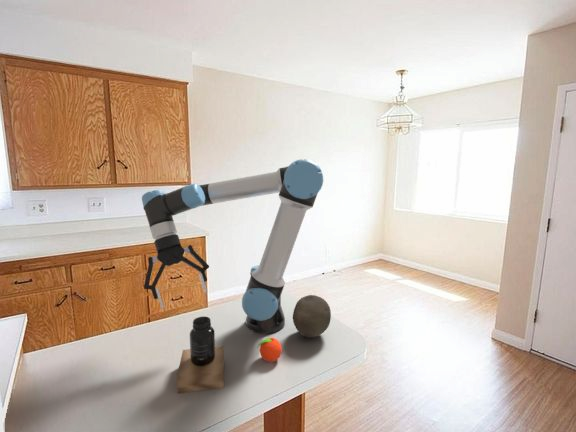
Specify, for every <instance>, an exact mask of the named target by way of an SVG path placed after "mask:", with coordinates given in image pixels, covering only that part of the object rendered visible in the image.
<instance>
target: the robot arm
mask: <svg viewBox="0 0 576 432" xmlns="http://www.w3.org/2000/svg"><path fill="white" fill-rule="evenodd" d="M323 184H324V175H323V171H322V169H321V167H320V166H319V165H318V164H317V163H316V162H315V161H313V160H311V159H306V158H302V159H296V160H294V161H293V162H291V163H290V164H289V165H288V166H284V167H279V168H278V169H277V171H273V172H267V173H262V174H260V173H259V174H257V175H251V176H245V177H240V178H239V177H238V178H233V179H228V180H222V181H217V182H211V183H206V184H205V183H204V184H198V183H192V184H187V185H185V186H183V187H180V188H177V189H176V190H172V191H170V192H167V193H166V192H165V191H164V190H163V189H155V190H150V191H147V192H145V193H144V194H142V196H141V201H142V206H143V207H142V208H143V211H144V213H145V216H146V219H147V222H148V225H149V230H150V233H151V236H152V239H153V240H154V241H153V243H154V246H155V250H156V253H157V254H156V256H148V257H147V261H148V267H147V271H146V276H145V280H144V286H143V289H144V290H151V292H152V296H153V299H154V300H158V301H159V305H160V308H161V309H160V310H163V309H165V307H164V303H163V300H162V297H161V294H160V290H159V287H156V286H157V284H158V282H159V280H160V278H161V276H162V274H163V272H164V269H165V268H166V266H167V267H171V266H173V265H177V264H179V263H180V262H182V263H184V264H186V265H188V266H189V267H191V268H192V269H195V270H196V271H198V272H199V273H198V277H199V278H198V279H199V281H200V284H201V287H202V290H203V293H205V294H207V293H208V289H207V286H206V282H208V277H207V275H206V270H208V269H209V267H210V265H209V264H208V263H207V262H206V261H205V260H204V259H203V258H202V257H201V256H200V255H199V254H198V253H197V252H196V251H195V250H194V247H193V245H191V244H189V245H188V246H186V247H182V244H181V240H180V237H179V235H178V234H177V233H178V230H177V227H176V225H175V221H174V218H173V216H176V215H179V214H183V213H184V212H188V211H190V210H192V209H196V208H199V207H202V206H208V205H213V204H218V203H220V204H221V203H225V202H230V201H231V202H232V201H237V200H243V199H250V198H254V197H255V198H256V197H261V196H268V195H272V194H278V198H279V200H280V204H279V207H278V210H277V213H276V215H275V218H274V222H273V225H272V228H271V231H270V234H269V236H268V239H267V242H266V245H265V248H264V251H263V254H262V257H261V259H260V262H259V265H254V266H252V267H251V269H250V272H249V275H250V277H249V281H248V284H247V287H246V289H245V292H244V294H243V295H242V298H241V308H242V310H243V312H244V314H245V315H246V317H245V326H246V328H247V329H248V330H250V331H251V332H254V333H258V334H271V333H276V332H279V331H280V330H282V329H283V328H284V326H285V325H286V318H285V315H284V311H283V307H282V304H281V301H282V300H281V299H282V294H283V291H284V287H285V285H286V282H285V280H284V278H283V277H284V273H285V271H286V269H287V266H288V263H289V261H290V258H291V255H292V252H293V249H294V246H295V242H296V241H297V238H298V236H299V235H298V234H299V232H300V229H301V227H302V223H303V220H304V218H305V215H306V212H307V211H308V210H310V209H312V208H313V207H314V204H315V202H316V200H317V196H318V193H319V192H320V191H321V190H322V187H323ZM184 253H188V254H189V255H191V256H192V257H193V258H194V259H195V260H196V261H197V262H198V263H199V264H200V265H201V266H199V264H197V263H195V262H194V261H191V260H190V259H189V258H186V257H185V256H184ZM156 261H159V262H160V263H161V265H160V266H159V270H158V271H157V273H156V275H155V277H154V279H153V281H152V284H150V281H151V276H152V274H153V273H152V271H153V268H154V264H156Z"/></svg>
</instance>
